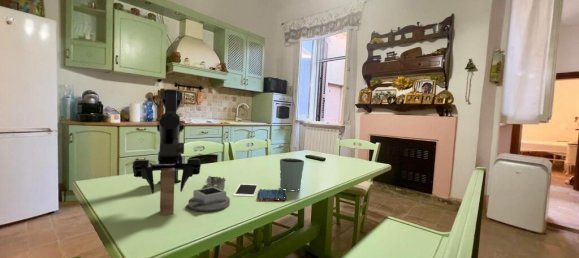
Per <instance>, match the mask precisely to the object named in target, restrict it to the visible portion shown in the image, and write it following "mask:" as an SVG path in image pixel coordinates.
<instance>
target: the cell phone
mask: <svg viewBox="0 0 579 258" xmlns="http://www.w3.org/2000/svg"><path fill="white" fill-rule="evenodd" d="M258 187H259V184H256V183H255V184H254V183H253V184H252V183H239V185H238V187H237V188H236V189H235V191H234V193H233V194H232V196H233V197H247V198H255V196H254V195H256V193H257V190H258ZM255 192H256V193H255Z"/></svg>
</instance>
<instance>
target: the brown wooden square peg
mask: <svg viewBox="0 0 579 258" xmlns="http://www.w3.org/2000/svg"><path fill="white" fill-rule="evenodd" d="M160 173H161V183H160V188H159V189H160V192H159V193H160V194H159V196H160V197H159V199H160V201H159V215H160V216H167V215H174V210H175V209H174V208H175V204H174V203H175V183H174V178H175V168H162V169H161V170H160Z"/></svg>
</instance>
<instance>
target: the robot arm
mask: <svg viewBox="0 0 579 258" xmlns="http://www.w3.org/2000/svg"><path fill="white" fill-rule="evenodd" d="M160 101H162V106H163V107H164V113H163V114H161V115H160V119H159V121H158V122H157V124H156V128H157V129H156V130H157V132H158V133H159V151H158V153H157V162H158V163H151V162H150V160H149V159H135V160H134V161H133V162H132V173H133V177H134V178H141V179H143V180H146V182H147V183H148V185H149V189H150V192H151V193H152V194H155V184H154V173H153V172H154V171H156V172H157V171H161V169H162V168H175V178H174V184H177V183H180V188H179V191H180V192H181V193H182V192H183V189H184V187H185V185H186V183H187V181H188V180H189V178H190V177H193V176H195V175H196V176H197V175H200V173H201V166H202V164H201V163H202V162H201V160H200V158H187V160H186V161H187V162H185V163H183V161H184V160H183V159H184V157H183V156H182V155H184V154H185V142H180V141H179V139H180V138H179V137H180V133H182V132H183V131H184V130H185V126H184V124H183V122H181V116H180V115H179V114H178V110H179V108H180V107H181V103H182V102H183V91H180V90H177V89H172V88H171V89H170V88H165V89H163V90H160ZM179 171H182V175H181V180H180V179H179ZM159 177H160V179H159V181H157V184H161V172H160V176H159Z"/></svg>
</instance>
